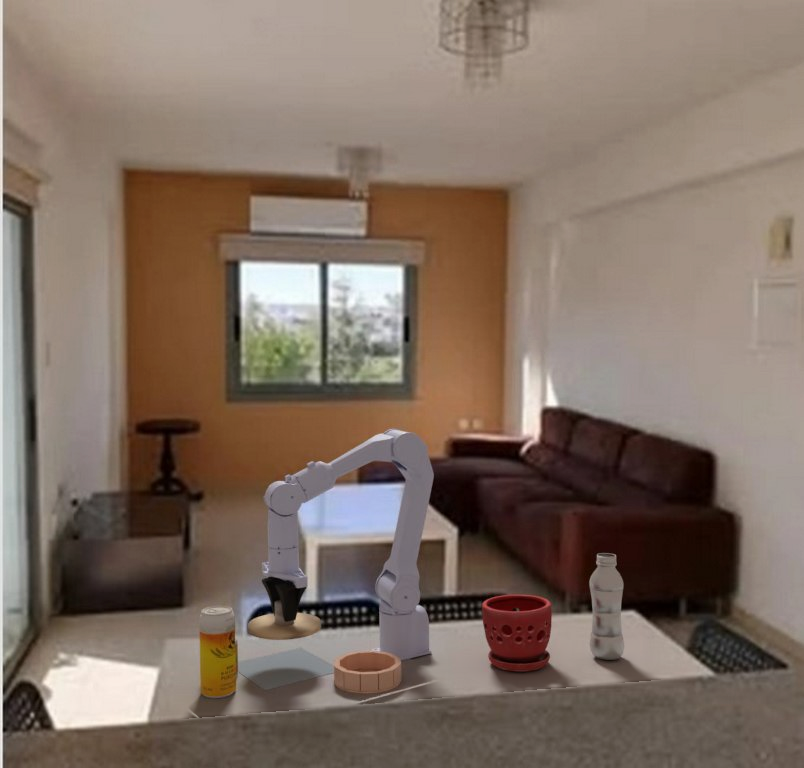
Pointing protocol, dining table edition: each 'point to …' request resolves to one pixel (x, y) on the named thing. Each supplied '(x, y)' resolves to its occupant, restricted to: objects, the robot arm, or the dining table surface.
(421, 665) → the dining table surface
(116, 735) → the dining table surface
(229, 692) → the beer can
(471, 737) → the dining table surface
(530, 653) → the plant pot
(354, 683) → the bowl
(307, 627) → the lid
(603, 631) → the plastic bottle
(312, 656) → the mat
